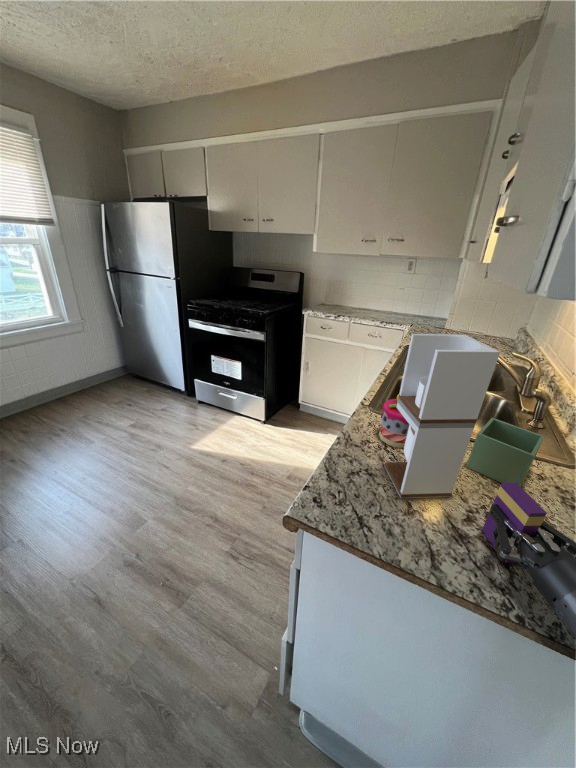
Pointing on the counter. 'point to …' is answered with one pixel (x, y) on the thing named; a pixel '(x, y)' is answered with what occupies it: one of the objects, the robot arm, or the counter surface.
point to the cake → (393, 425)
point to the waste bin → (504, 451)
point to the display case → (439, 410)
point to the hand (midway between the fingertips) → (501, 507)
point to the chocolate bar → (516, 511)
